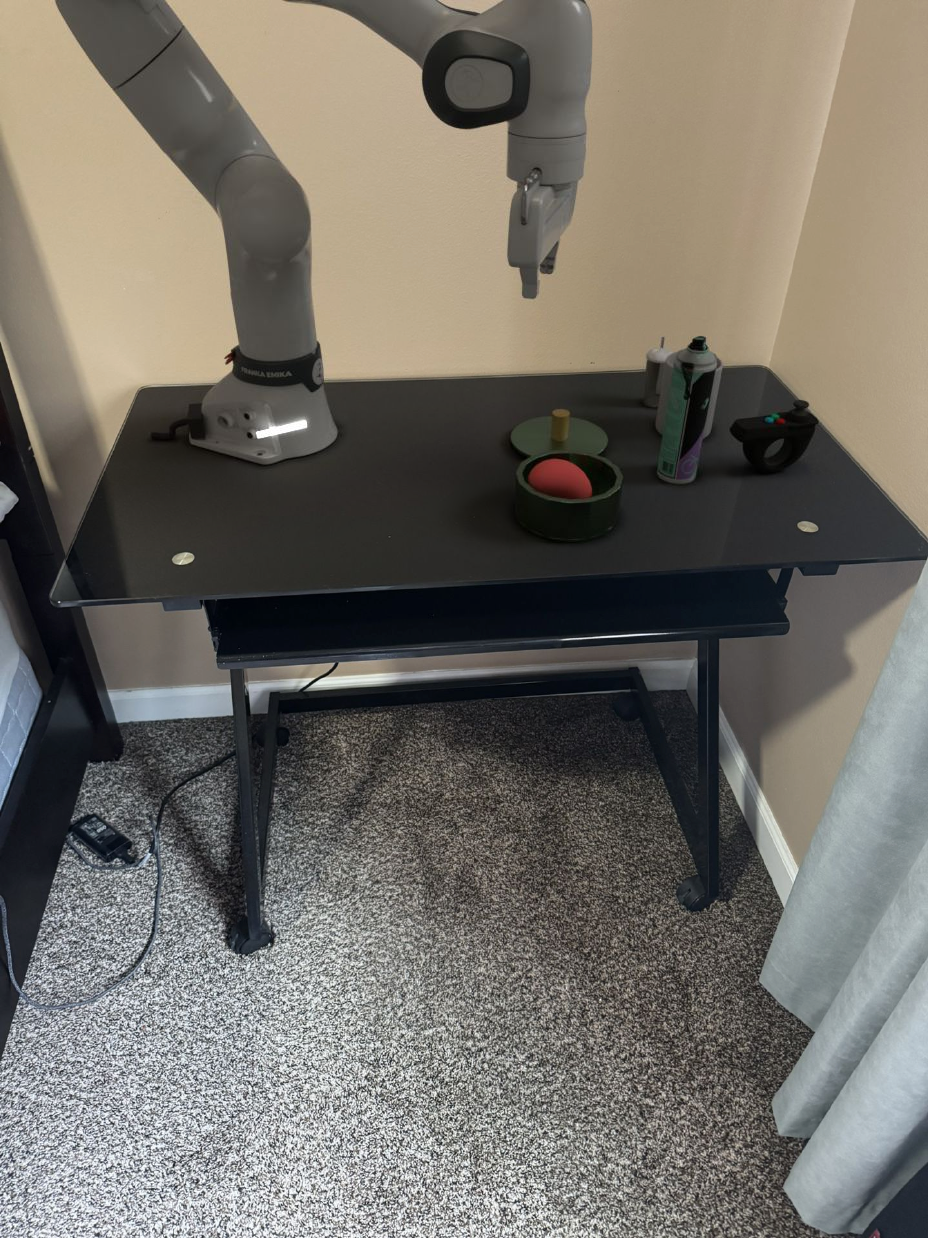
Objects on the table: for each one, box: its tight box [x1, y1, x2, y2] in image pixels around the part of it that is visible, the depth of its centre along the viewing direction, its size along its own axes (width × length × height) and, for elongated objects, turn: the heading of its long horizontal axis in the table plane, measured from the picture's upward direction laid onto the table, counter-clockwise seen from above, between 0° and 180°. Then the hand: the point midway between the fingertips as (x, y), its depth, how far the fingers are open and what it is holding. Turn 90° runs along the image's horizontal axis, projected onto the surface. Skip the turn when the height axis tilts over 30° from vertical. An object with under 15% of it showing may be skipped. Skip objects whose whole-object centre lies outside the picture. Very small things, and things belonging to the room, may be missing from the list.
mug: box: [655, 351, 724, 440], centre depth 132 cm, size 12×8×11 cm
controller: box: [729, 399, 820, 473], centre depth 124 cm, size 4×12×10 cm, turn 103°
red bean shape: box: [528, 459, 592, 499], centre depth 114 cm, size 5×9×6 cm, turn 90°
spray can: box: [656, 335, 718, 485], centre depth 119 cm, size 6×6×20 cm
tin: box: [514, 450, 624, 543], centre depth 115 cm, size 14×14×6 cm
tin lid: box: [510, 408, 609, 459], centre depth 131 cm, size 15×15×5 cm
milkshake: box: [643, 336, 675, 409], centre depth 141 cm, size 5×5×10 cm
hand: (539, 284), depth 108 cm, fingers open, 8 cm apart
